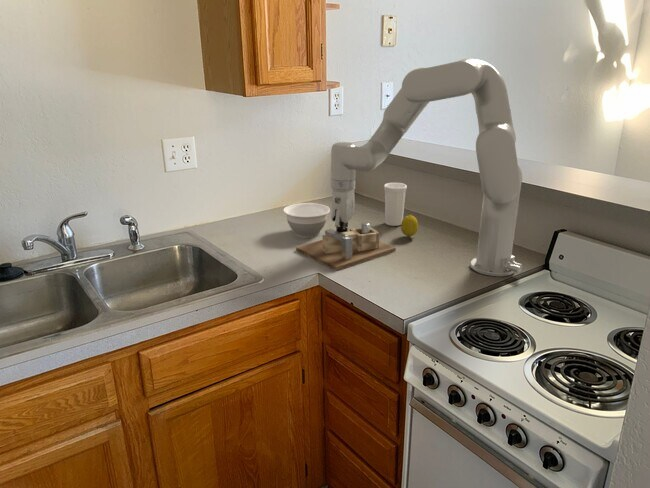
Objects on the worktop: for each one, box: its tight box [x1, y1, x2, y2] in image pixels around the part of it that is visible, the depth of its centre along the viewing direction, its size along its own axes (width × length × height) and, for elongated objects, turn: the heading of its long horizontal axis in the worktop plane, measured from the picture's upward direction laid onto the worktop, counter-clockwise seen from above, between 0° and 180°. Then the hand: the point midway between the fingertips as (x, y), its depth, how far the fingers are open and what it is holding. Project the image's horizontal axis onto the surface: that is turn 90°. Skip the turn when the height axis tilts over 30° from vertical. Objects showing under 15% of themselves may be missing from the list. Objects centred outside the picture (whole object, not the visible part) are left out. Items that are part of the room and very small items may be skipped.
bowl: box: [282, 202, 331, 239], centre depth 183 cm, size 16×16×9 cm
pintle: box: [360, 221, 371, 234], centre depth 169 cm, size 3×3×7 cm
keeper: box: [324, 228, 353, 260], centre depth 161 cm, size 10×2×7 cm, turn 38°
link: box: [322, 226, 381, 254], centre depth 166 cm, size 17×7×5 cm, turn 112°
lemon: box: [400, 214, 419, 238], centre depth 178 cm, size 6×6×8 cm
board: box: [295, 239, 397, 272], centre depth 168 cm, size 20×24×1 cm
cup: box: [383, 182, 408, 227], centre depth 190 cm, size 8×8×14 cm
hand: (341, 239), depth 170 cm, fingers closed
